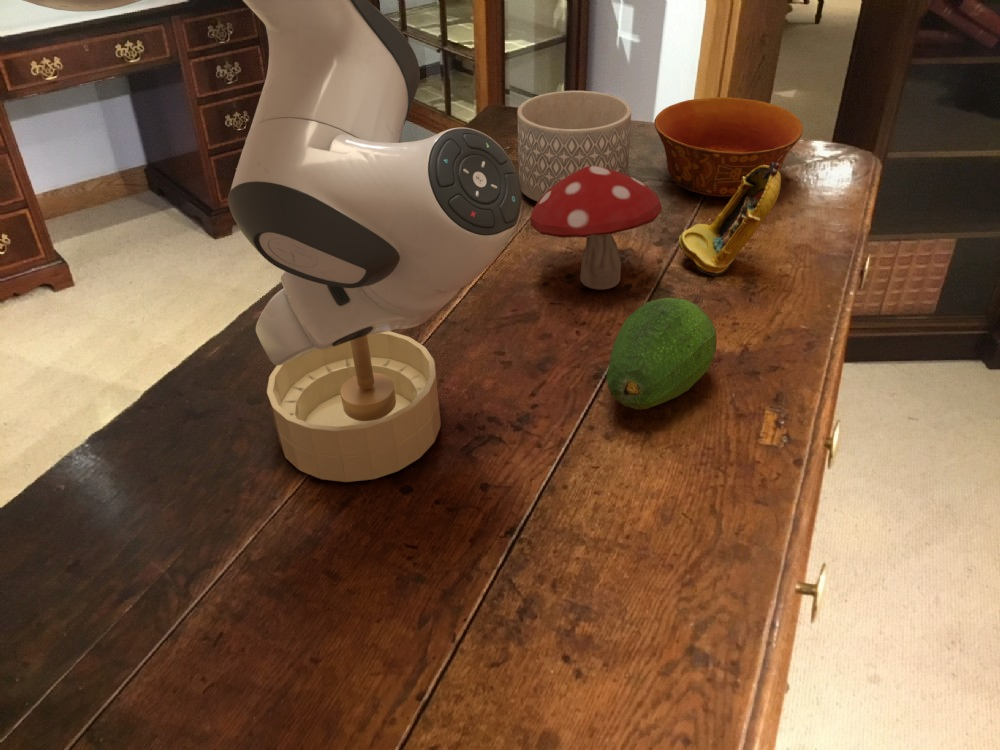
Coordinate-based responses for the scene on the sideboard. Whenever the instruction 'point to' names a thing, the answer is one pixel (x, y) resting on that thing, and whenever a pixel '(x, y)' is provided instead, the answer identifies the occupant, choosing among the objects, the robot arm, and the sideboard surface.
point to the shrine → (733, 222)
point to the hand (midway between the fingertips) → (352, 322)
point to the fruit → (660, 352)
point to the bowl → (724, 141)
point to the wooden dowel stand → (366, 387)
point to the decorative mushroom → (596, 217)
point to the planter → (570, 137)
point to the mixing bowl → (340, 439)
